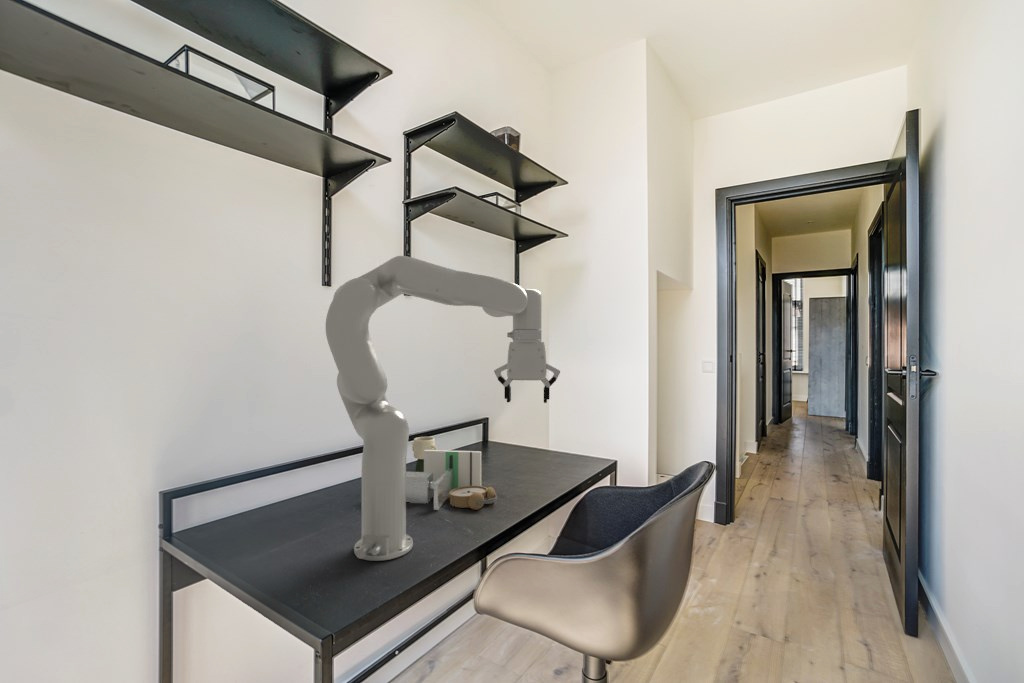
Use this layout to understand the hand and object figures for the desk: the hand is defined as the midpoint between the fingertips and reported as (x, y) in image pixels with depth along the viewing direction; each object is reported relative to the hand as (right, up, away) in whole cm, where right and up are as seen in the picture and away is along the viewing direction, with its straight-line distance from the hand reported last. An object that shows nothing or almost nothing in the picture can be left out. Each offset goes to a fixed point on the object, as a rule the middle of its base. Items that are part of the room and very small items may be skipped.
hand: (527, 402), depth 121 cm
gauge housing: (-34, -30, +14) cm, 47 cm away
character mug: (-34, -31, +37) cm, 59 cm away
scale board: (-23, -30, +23) cm, 44 cm away
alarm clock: (-15, -31, +11) cm, 36 cm away
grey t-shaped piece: (-29, -30, +14) cm, 44 cm away
